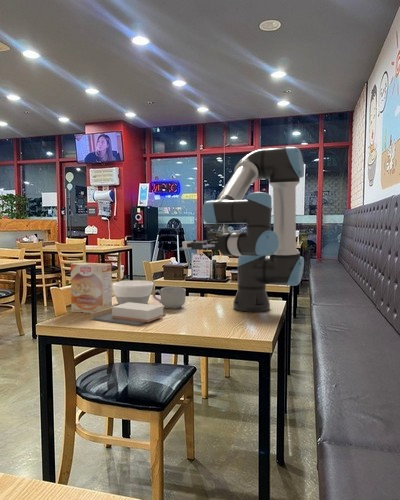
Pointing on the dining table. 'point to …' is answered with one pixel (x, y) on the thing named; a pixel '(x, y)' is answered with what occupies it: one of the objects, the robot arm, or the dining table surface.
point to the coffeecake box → (90, 287)
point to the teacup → (171, 297)
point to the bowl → (132, 291)
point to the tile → (137, 311)
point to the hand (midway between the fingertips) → (183, 245)
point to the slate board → (107, 317)
